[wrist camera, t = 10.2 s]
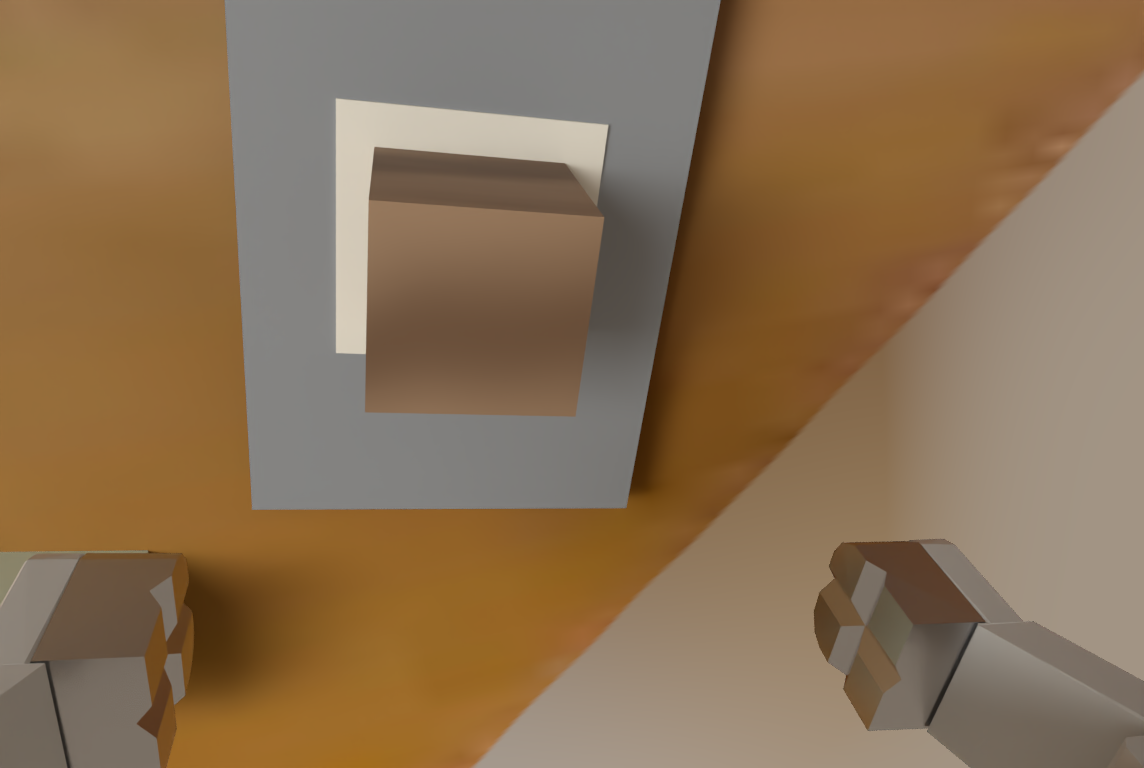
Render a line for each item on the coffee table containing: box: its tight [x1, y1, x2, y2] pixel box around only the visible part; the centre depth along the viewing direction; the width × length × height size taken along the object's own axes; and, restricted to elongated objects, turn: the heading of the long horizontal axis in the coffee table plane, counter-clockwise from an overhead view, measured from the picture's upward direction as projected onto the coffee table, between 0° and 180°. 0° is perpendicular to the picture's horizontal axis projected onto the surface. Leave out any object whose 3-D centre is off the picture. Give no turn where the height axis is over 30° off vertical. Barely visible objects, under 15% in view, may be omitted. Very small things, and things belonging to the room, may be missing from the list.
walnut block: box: [365, 147, 604, 417], centre depth 21 cm, size 5×5×5 cm
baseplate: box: [225, 0, 721, 510], centre depth 24 cm, size 18×12×1 cm, turn 173°
